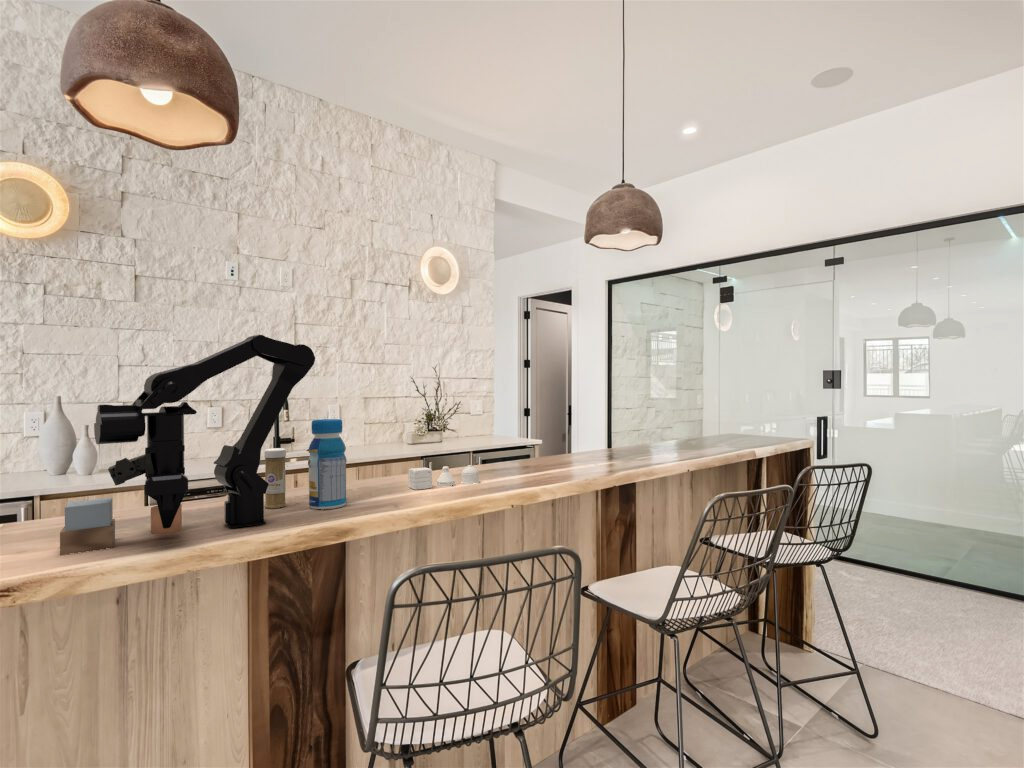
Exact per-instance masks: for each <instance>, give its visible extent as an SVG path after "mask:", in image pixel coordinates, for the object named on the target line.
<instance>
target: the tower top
mask: <svg viewBox="0 0 1024 768" xmlns="http://www.w3.org/2000/svg"><path fill="white" fill-rule="evenodd" d="M113 512H114V511H113V497H105V498H95V499H94V498H93V499H84V500H75V501H74V500H73V501H70V502H68V503H67V504H66V505H65V507H64V526H65V531H73V530H81V529H89V528H97V527H106V526H110V524H111V522H112V520H113V519H114V517H113Z"/></svg>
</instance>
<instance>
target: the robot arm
mask: <svg viewBox="0 0 1024 768" xmlns="http://www.w3.org/2000/svg"><path fill="white" fill-rule="evenodd" d="M256 357H258V358H260V359H262V360H265V361H266V362H269V363H272V364H273V366H272V373H271V380H270V382H269V384H268V386H267V388H266V389H265V391H264V393H263V395H262V397H261V399H260V400H259V402H258V404H257V406H256V408H255V409H254V411H253V412H252V413H253V414H252V416H251V418H250V419H249V421H248V422H247V425H246V427H244V430H243V432H242V434H241V436H240V438H239V439H238V441H237V442H235V443H234V444H233V445H232V446H231V445H227V444H224V445H223V446H222V448H221V452H220V454H219V456H218V458H217V459H216V460H215V461H214V462H213V465H215V467H214V470H213V473H214V477H215V479H216V481H217V482H218V483H219V484H221V485H223V487H224V490H225V492H226V493H227V500H225V501H224V502H223V503H224V505H223V506H224V510H223V511H224V514H223V515H224V517H223V518H224V524H226V525H227V526H228V528H229V529H235V528H236V529H237V528H245V527H251V526H258V525H265V524H266V523H267V522H266V520H265V501H264V500H265V498H264V495H265V493H266V490H267V487H268V483H267V482H266V481H265V479H264V478H262V477H261V476H260V474H258V470H259V467H260V464H261V457H262V456H261V454H262V448H263V447H264V443H265V442H266V440H267V438H268V436H269V434H270V432H271V431H272V428H273V427H274V424H275V423H276V421H277V419H278V417H279V415H280V413H281V412H282V410H283V407H284V406H285V404H286V402H287V400H288V398H289V396H290V394H291V392H292V391H293V388H294V387H295V386H296V385H297V384H298V383H299V382H300V381H302V380H303V379H304V378H305V377H306V375H307V374H308V373H309V372H310V370H311V369H312V368H313V366H314V365H315V362H316V356H315V353H314V351H313V349H312V348H311V347H310V346H309V345H306V344H301V343H300V344H293V343H289V342H286V341H282V340H277V339H274V338H270V337H269V336H265V335H263V334H256V335H255V334H254V335H250V336H248V337H246V339H244V340H242V341H240V342H237V343H236V344H232V345H231V346H228V347H227V348H224V349H222V350H220V351H218V352H215V353H213V354H211V355H208V356H207V357H203V358H202V359H199V360H197V361H195V362H194V363H190V364H186V365H183V366H179V367H178V366H177V367H174V368H169V369H167V370H163V371H160V372H156V373H153V374H151V375H150V376H148V377H147V378H146V379H145V381H144V385H143V391H142V393H140V395H139V396H138V397H137V398H136V399H135V400H134V402H133V403H132V404H130V405H129V404H122V405H121V404H120V405H113V404H98V405H97V412H96V415H95V422H94V425H93V430H94V431H93V432H94V441H95V444H96V445H106V444H107V445H108V444H124V443H137V442H138V440H139V437H143V436H145V434H146V437H147V439H146V440H147V441H146V444H147V446H146V447H145V449H144V451H145V452H144V454H142V455H138V456H136V457H133V458H131V459H129V458H127V457H124V458H123V459H122V458H121V459H120V460H116V461H115V464H113V465H111V466H109V467H108V469H107V471H108V473H109V475H110V477H111V479H112V481H113V483H114V485H115V486H121V485H122V484H125V482H126V481H130V480H132V479H135V478H137V477H140V476H141V475H145V476H144V477H145V479H146V480H145V481H144V482H145V483H144V490H145V491H144V493H145V495H146V496H148V497H150V498H151V499H153V500H154V501H155V502H156V504H157V505H156V506H158V509H159V513H160V517H161V521H162V525H163V528H170V527H171V525H172V522H173V520H174V518H175V515H176V513H177V511H178V509H179V506H180V504H181V505H182V502H183V499H184V497H185V496H186V494H187V491H189V478H188V476H186V475H185V474H186V473H185V472H186V469H185V450H186V446H185V415H186V416H187V415H196V414H197V412H198V411H197V410H196V409H194V408H193V407H192V406H190V404H189V403H188V402H187V401H183V402H181V403H180V404H179V405H175V406H174V405H170V406H169V405H168V406H167V405H165V406H162V405H164V404H173V403H174V404H175V403H177V402H179V401H181V400H182V399H184V398H186V397H187V396H188V395H190V394H191V393H193V392H194V391H195V390H197V388H199V387H200V386H201V385H202V384H203V383H205V382H206V381H208V380H210V379H211V378H213V377H216V376H218V375H219V374H223V373H224V372H226V371H228V370H230V369H233V368H234V367H236V366H238V365H241V364H243V363H244V362H247V361H249V360H251V359H253V358H256ZM160 406H161V407H160ZM159 407H160V408H159ZM157 408H159V411H157V412H143V410H155V409H157Z"/></svg>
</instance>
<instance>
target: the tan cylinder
mask: <svg viewBox="0 0 1024 768" xmlns="http://www.w3.org/2000/svg"><path fill="white" fill-rule="evenodd" d="M182 507H183V506H182V503H181V504H180V506H179V509H178V511H177V513H176V515H175V518H174V520H173V522H172V525H171V527H170V528H163V525H162V521H161V517H160V513H159V509H158V505H154V506H152V507H150V534H151V535H157V536H158V535H169V534H173V533H177V532H180V531H182V529H183V525H182V524H183V521H182V520H183V518H182V517H183V516H182V515H183V514H182V513H183V512H182V511H183V509H182Z"/></svg>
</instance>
